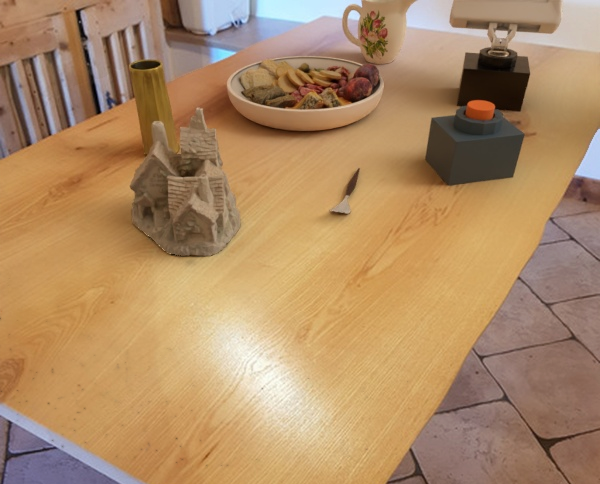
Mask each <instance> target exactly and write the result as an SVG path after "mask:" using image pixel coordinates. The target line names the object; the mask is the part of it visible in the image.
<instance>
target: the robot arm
mask: <svg viewBox="0 0 600 484" xmlns="http://www.w3.org/2000/svg"><path fill="white" fill-rule="evenodd" d="M563 9H564V0H453V1H452V4H451V9H450V13H449V20H448V22H449V24H450V27H451V28H453V29H471V30H486V31H487V33H486V34H487V35H486V36H487V37H488V39H489V41H490V43H491V44H490V47H491V51H504V52H506V51H507V49H509V48H508V47H509V43H510V42H511V41H512V40H513V38H514V37H515V36H516V33H532V34H533V33H534V34H545V35H547V34H548V35H552V34H554V33H555V32H556V31H557V30H558V29H559V27H560V25H561V22H562V18H563ZM496 31H498V32H499V31H501V32H507V34H506V35H507V36H505V37H497V35H496Z"/></svg>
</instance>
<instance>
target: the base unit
mask: <svg viewBox="0 0 600 484" xmlns="http://www.w3.org/2000/svg"><path fill="white" fill-rule="evenodd" d="M490 50H491V46H487V47H484V48H482V49H479V52H468V51H467V52H465V53H464V58H463V63H462V69H461V73H460V74H461V76H460V81H459V86H458V94H457V101H456V107H463V106H467V104H468V102H470V101H474V100H483V101H488V102H491V103H493V104H494V105H495V109H497V110H499V111H509V112H521V111H522V107H523V103H524V99H525V95H526V91H527V88H528V84H529V80H530V76H531V70H530V69H531V68H530V62H529V57H528V56H524V55H518V52H517V51H515V50H514V49H510V48H507V51H506V52H508V53H509V56H503V57H501V56H493V55H489V54H487V53H488V51H490Z"/></svg>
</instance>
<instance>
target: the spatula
mask: <svg viewBox="0 0 600 484" xmlns="http://www.w3.org/2000/svg"><path fill="white" fill-rule="evenodd" d="M360 170H361V167H358V168H357V170H356V171H355V173H354V174H353V176H352V177H351V179H350V180H349V181H348V184H347V188H346V192H345V196H344V199H343V200H342V201H340V202H339V203H338V204H337V205H335V206H334V207H333V208H332V209H328V211H329V212H334V213H339V214H345V215H348V214H350V213H351V207H350V205H349V203H348V199H349V197H350V196H351V194H352V193H353V192H354V190H355V189H356V186H357V182H358V178H359V173H360Z"/></svg>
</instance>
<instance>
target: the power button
mask: <svg viewBox="0 0 600 484" xmlns="http://www.w3.org/2000/svg"><path fill="white" fill-rule="evenodd" d="M487 54H489V55H493V56H501V57H503V56H509V53H508V52H504V51H491V50H490V51H488V53H487Z"/></svg>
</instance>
